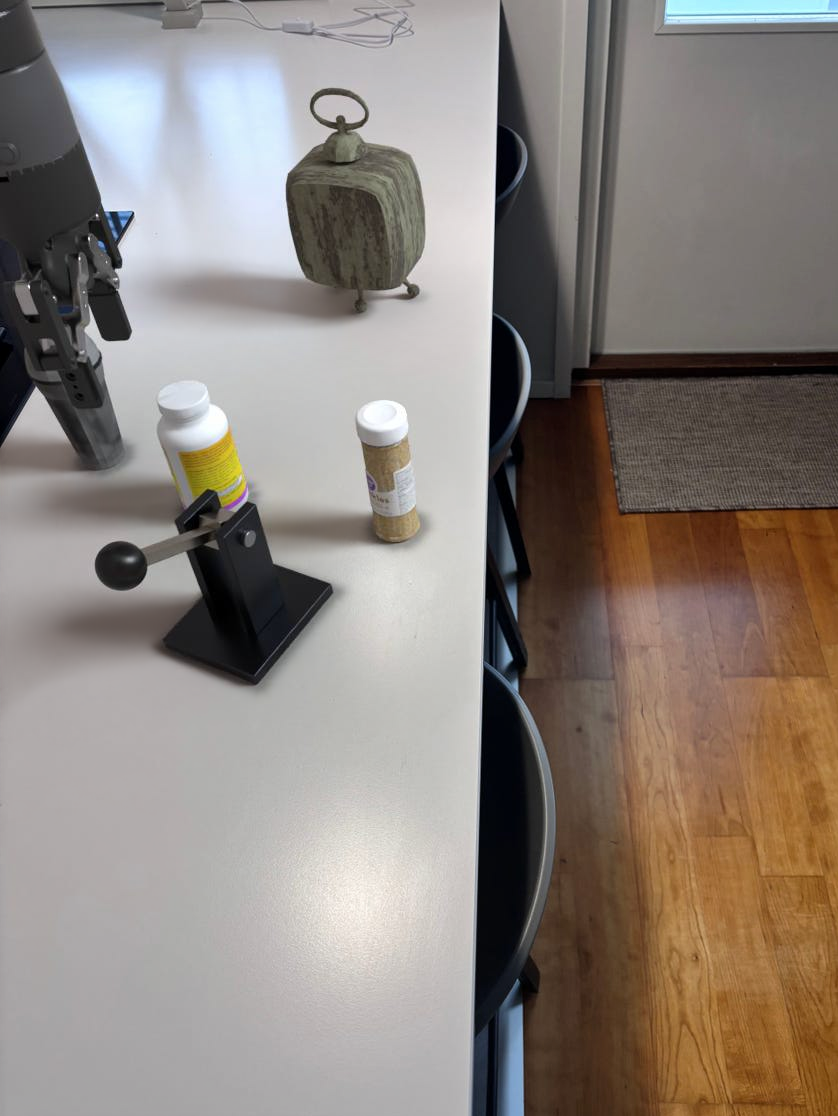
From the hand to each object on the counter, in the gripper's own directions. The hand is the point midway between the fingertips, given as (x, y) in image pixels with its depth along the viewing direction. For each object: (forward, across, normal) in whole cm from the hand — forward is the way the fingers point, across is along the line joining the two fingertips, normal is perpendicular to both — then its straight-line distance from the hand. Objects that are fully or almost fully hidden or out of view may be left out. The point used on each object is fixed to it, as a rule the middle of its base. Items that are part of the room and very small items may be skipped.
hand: (105, 371), depth 72 cm
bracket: (+25, +2, +6) cm, 25 cm away
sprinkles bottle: (+25, -9, +18) cm, 32 cm away
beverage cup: (+25, -23, -14) cm, 37 cm away
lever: (+13, +8, +3) cm, 15 cm away
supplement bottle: (+25, -14, 0) cm, 29 cm away
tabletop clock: (+25, -52, +12) cm, 59 cm away
